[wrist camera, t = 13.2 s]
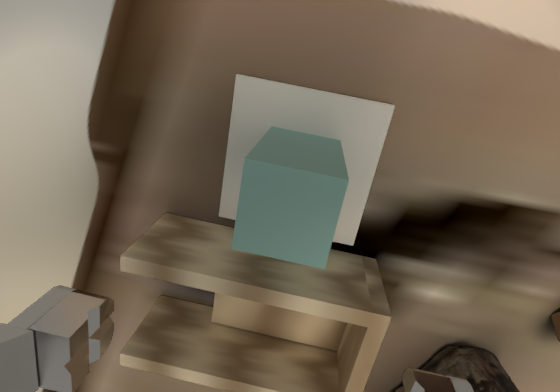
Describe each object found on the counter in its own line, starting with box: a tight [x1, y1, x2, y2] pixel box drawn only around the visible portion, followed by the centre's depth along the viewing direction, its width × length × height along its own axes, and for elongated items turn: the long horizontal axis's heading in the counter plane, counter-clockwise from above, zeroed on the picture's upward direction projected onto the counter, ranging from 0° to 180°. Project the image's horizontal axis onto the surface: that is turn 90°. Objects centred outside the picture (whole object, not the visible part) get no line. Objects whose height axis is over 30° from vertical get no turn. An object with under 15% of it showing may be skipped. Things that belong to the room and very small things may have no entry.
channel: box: [120, 213, 392, 392], centre depth 27 cm, size 18×10×7 cm, turn 80°
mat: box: [219, 74, 395, 246], centre depth 26 cm, size 11×11×1 cm
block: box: [231, 126, 349, 269], centre depth 21 cm, size 5×5×9 cm
